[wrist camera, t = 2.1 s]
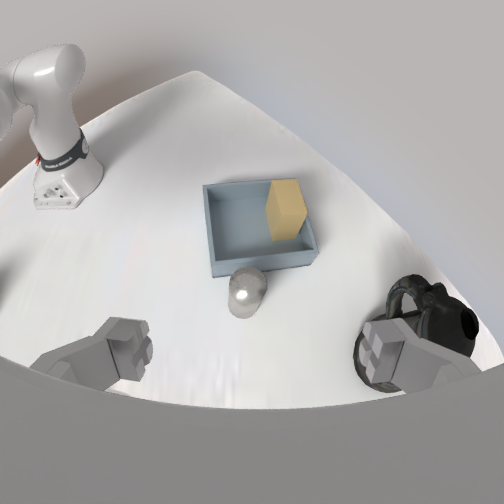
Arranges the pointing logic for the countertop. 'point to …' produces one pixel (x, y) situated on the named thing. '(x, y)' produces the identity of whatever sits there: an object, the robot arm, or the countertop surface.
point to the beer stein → (426, 321)
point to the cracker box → (285, 209)
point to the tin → (246, 291)
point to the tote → (250, 231)
